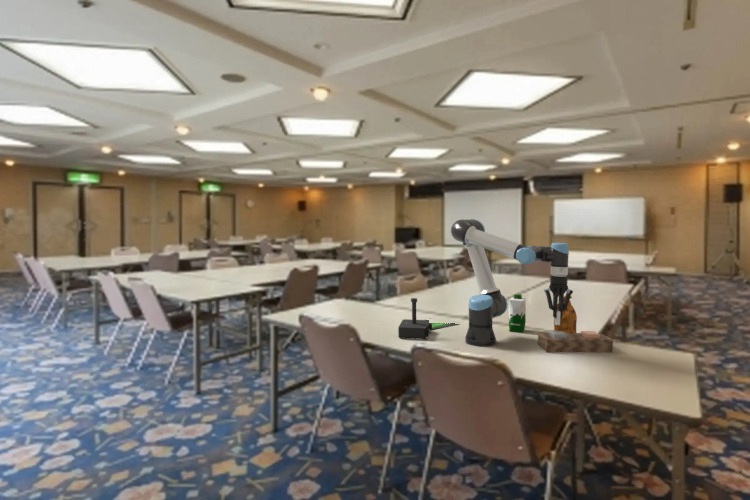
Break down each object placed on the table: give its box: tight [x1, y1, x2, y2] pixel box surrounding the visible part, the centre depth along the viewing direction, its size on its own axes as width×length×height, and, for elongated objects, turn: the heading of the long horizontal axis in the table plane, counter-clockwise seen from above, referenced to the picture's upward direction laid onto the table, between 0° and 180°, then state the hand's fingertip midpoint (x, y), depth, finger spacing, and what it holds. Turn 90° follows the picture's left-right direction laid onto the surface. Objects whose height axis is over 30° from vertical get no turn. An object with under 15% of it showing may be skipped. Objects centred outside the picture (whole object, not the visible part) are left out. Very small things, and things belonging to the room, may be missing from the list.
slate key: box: [548, 330, 567, 338], centre depth 200 cm, size 6×6×5 cm
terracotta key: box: [580, 330, 600, 338], centre depth 200 cm, size 6×6×5 cm
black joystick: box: [397, 297, 433, 340], centre depth 229 cm, size 19×17×20 cm
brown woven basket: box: [537, 332, 614, 353], centre depth 200 cm, size 30×12×6 cm, turn 87°
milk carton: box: [508, 293, 527, 334], centre depth 234 cm, size 9×9×20 cm
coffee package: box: [553, 295, 578, 333], centre depth 219 cm, size 10×12×22 cm
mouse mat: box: [431, 323, 458, 331], centre depth 254 cm, size 27×22×1 cm
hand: (557, 324), depth 200 cm, fingers closed
